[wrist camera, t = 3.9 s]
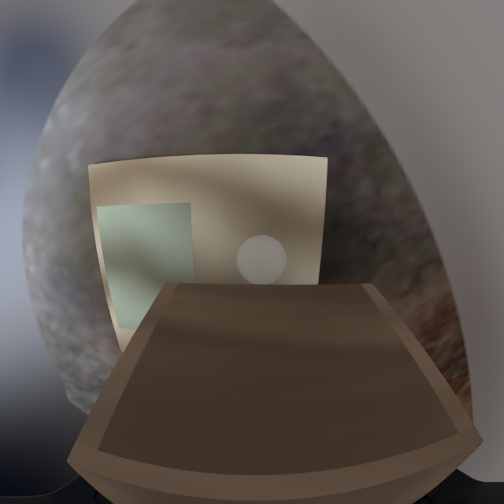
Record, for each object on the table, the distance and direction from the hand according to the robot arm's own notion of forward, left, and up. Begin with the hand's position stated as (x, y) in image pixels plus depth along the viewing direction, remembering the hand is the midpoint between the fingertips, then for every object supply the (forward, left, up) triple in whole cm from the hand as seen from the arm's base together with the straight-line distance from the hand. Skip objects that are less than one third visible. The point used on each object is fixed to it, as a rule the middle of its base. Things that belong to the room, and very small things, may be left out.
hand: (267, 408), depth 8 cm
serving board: (-1, +4, -12) cm, 13 cm away
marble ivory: (+2, 0, -11) cm, 11 cm away
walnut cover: (0, 0, -1) cm, 1 cm away
